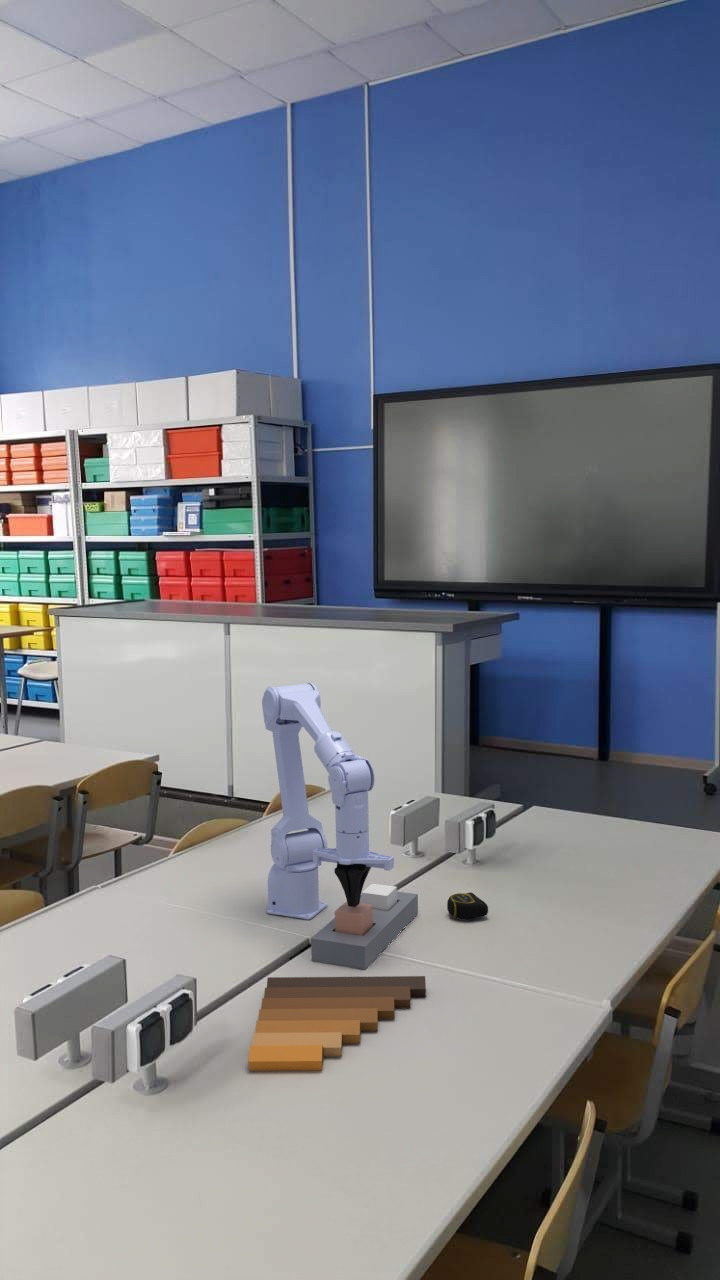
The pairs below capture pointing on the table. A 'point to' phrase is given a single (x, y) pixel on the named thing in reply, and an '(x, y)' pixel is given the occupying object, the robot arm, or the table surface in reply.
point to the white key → (380, 896)
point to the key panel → (364, 948)
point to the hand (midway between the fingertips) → (353, 904)
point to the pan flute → (323, 1016)
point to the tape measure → (466, 906)
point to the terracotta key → (354, 919)
